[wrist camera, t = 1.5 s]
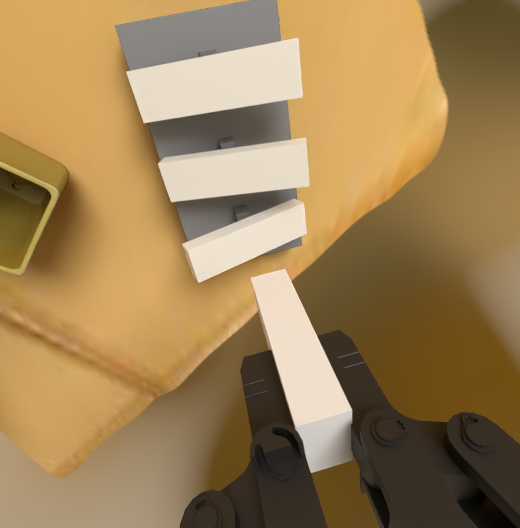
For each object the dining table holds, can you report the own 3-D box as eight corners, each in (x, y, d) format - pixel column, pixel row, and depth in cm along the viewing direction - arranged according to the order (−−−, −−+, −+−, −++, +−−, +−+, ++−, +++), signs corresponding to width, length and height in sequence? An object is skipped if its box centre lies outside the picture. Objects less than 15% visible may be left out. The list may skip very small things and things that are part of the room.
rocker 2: (176, 194, 29) (171, 202, 28) (164, 157, 27) (157, 163, 26) (309, 178, 27) (309, 186, 26) (306, 137, 25) (306, 143, 24)
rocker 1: (151, 118, 26) (143, 123, 24) (135, 69, 24) (126, 71, 22) (302, 93, 23) (302, 97, 22) (298, 37, 22) (298, 38, 20)
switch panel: (196, 253, 38) (198, 282, 33) (122, 29, 26) (109, 22, 21) (291, 229, 39) (307, 254, 34) (264, 3, 27) (283, -10, 22)
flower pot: (56, 230, 33) (20, 279, 26) (-47, 187, 29) (-123, 230, 22) (89, 158, 31) (61, 191, 23) (-19, 100, 27) (-96, 115, 19)
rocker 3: (192, 274, 30) (198, 283, 28) (181, 244, 28) (187, 251, 27) (297, 228, 34) (306, 233, 33) (294, 198, 32) (303, 203, 31)
